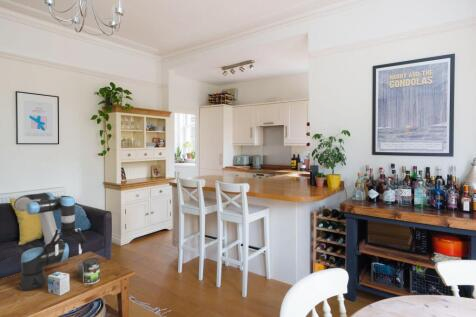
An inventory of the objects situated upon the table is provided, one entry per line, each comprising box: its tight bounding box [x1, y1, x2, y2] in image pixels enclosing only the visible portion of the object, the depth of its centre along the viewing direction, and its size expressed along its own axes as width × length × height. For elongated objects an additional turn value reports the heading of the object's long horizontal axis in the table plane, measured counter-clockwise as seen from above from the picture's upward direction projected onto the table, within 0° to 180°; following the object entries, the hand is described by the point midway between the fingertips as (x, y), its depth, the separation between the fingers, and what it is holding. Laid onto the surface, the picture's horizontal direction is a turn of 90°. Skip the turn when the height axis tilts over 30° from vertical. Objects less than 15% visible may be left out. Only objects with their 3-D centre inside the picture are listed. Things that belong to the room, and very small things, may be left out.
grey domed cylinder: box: [77, 262, 83, 277], centre depth 200 cm, size 5×5×8 cm
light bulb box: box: [47, 271, 71, 296], centre depth 177 cm, size 11×7×11 cm, turn 70°
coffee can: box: [81, 257, 101, 285], centre depth 191 cm, size 10×10×14 cm
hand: (68, 254), depth 180 cm, fingers open, 13 cm apart
